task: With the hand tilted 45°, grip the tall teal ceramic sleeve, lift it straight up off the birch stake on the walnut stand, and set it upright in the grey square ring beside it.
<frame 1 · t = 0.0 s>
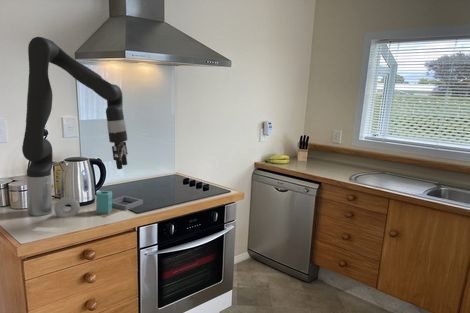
hand: (122, 167, 155), 22 cm above the countertop, tool pointing down, fingers open, 8 cm apart
stake stand: (104, 215, 158), on the countertop
grey square ring: (124, 207, 169), on the countertop
donut: (67, 219, 151), on the countertop
sleeve: (104, 212, 157), point 1 cm above the countertop, touching stake stand
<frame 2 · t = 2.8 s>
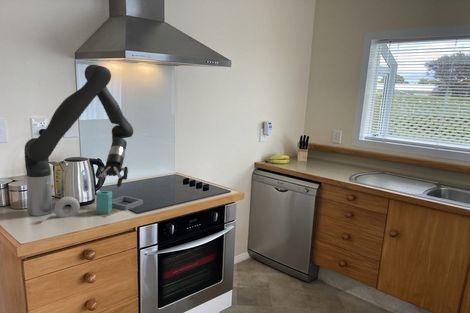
hand: (108, 185, 162), 12 cm above the countertop, tool tilted 45°, fingers open, 8 cm apart
nothing on the countertop moved.
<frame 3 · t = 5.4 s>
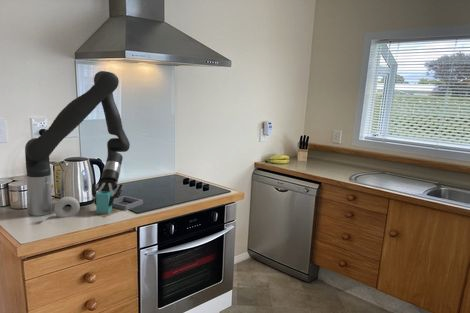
hand: (103, 204, 155), 5 cm above the countertop, tool tilted 45°, fingers closed on sleeve, 5 cm apart
sleeve: (104, 212, 157), point 2 cm above the countertop, touching gripper, stake stand
everything else where it was.
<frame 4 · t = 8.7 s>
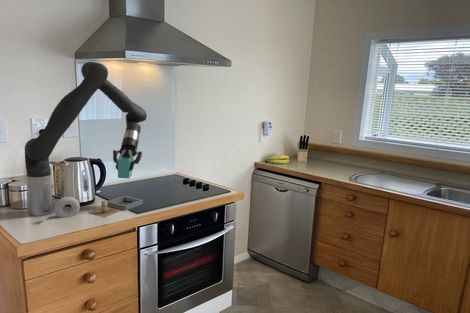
hand: (124, 169, 164), 19 cm above the countertop, tool tilted 45°, fingers closed on sleeve, 5 cm apart
sleeve: (125, 176, 167), point 15 cm above the countertop, touching gripper
everything else where it was.
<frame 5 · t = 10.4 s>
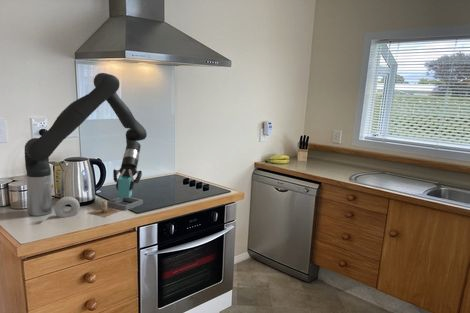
hand: (124, 189, 166), 10 cm above the countertop, tool tilted 45°, fingers closed on sleeve, 5 cm apart
sleeve: (125, 196, 168), point 6 cm above the countertop, touching gripper
everything else where it was.
when the fingers open (6 cm above the countertop, at t = 12.0 s): sleeve drops 1 cm, resting on grey square ring.
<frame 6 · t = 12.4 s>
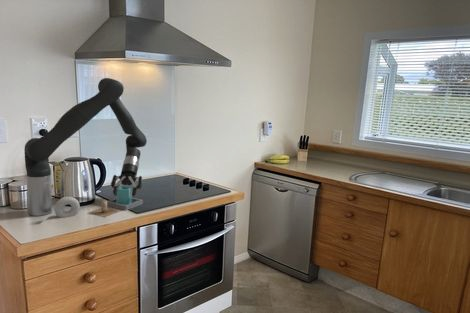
hand: (124, 195, 167), 7 cm above the countertop, tool tilted 45°, fingers open, 8 cm apart
sleeve: (124, 206, 169), point 1 cm above the countertop, touching grey square ring
everything else where it was.
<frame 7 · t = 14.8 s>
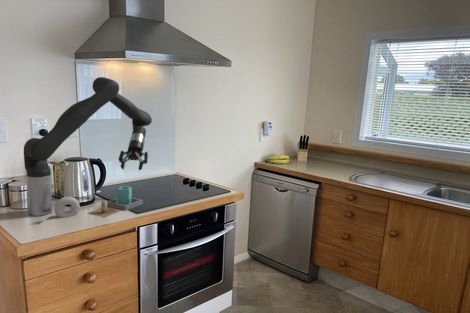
hand: (131, 169, 178), 17 cm above the countertop, tool tilted 45°, fingers open, 8 cm apart
nothing on the countertop moved.
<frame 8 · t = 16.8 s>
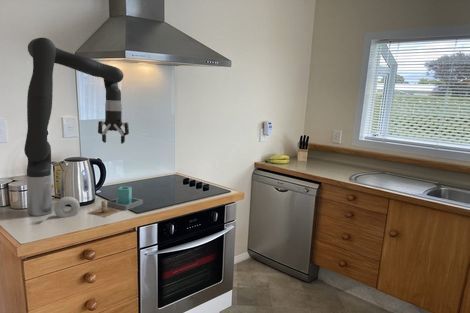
hand: (113, 142, 172), 30 cm above the countertop, tool pointing down, fingers open, 8 cm apart
nothing on the countertop moved.
at the end: sleeve inside the target area on the grey square ring (0.1 cm from its centre), point 0.8 cm above the grey square ring's base; sleeve tilted 0°; the gripper is holding nothing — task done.
